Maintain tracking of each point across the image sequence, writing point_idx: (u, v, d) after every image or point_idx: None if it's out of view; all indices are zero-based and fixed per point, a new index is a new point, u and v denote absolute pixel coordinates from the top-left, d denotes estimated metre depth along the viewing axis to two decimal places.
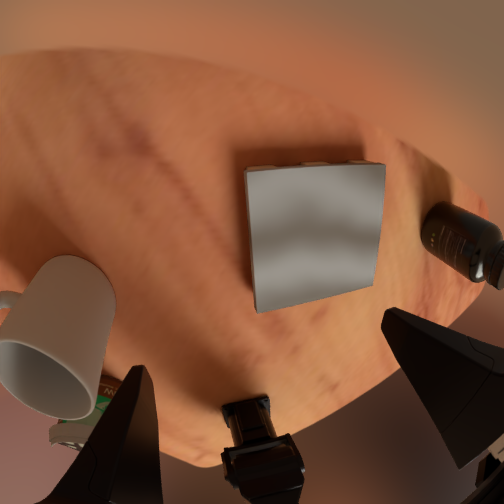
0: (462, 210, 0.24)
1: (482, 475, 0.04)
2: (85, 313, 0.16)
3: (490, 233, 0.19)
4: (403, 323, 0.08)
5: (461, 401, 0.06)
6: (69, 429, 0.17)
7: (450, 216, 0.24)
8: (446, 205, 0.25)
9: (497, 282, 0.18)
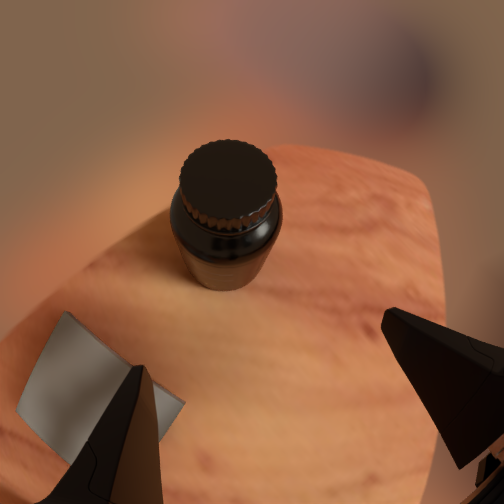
0: None
1: (482, 475, 0.04)
2: None
3: (174, 198, 0.15)
4: (403, 323, 0.08)
5: (461, 401, 0.06)
6: None
7: None
8: None
9: (223, 220, 0.12)
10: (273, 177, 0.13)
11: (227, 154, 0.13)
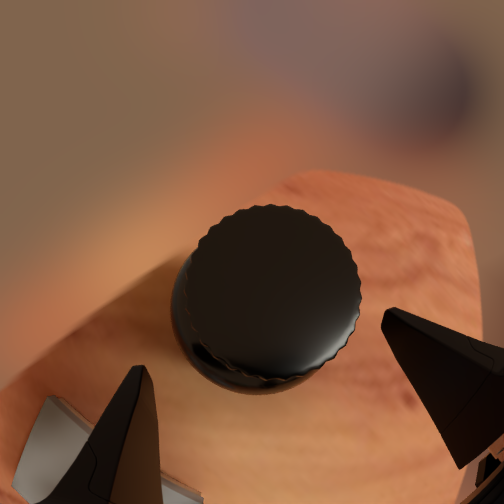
0: None
1: (482, 475, 0.04)
2: None
3: (176, 292, 0.10)
4: (403, 323, 0.08)
5: (461, 400, 0.06)
6: None
7: None
8: None
9: (274, 377, 0.06)
10: (355, 286, 0.07)
11: (273, 239, 0.07)
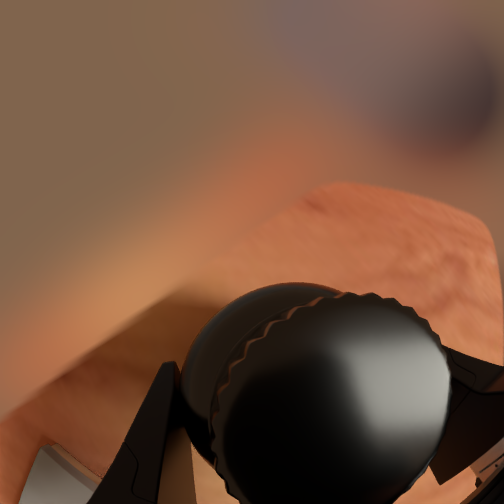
0: None
1: None
2: None
3: (187, 387, 0.06)
4: None
5: None
6: None
7: None
8: None
9: None
10: (447, 402, 0.04)
11: (354, 358, 0.04)
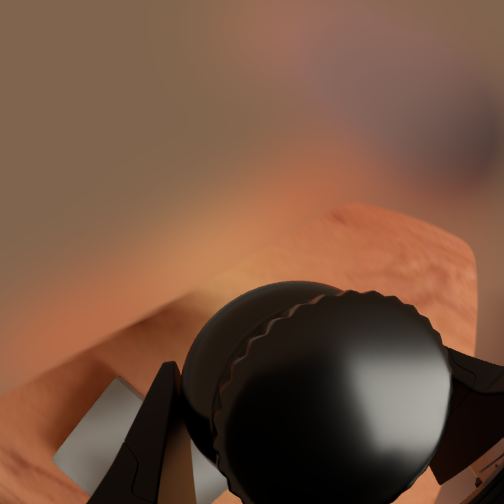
0: None
1: None
2: None
3: (189, 385, 0.06)
4: None
5: None
6: None
7: None
8: None
9: None
10: (448, 400, 0.04)
11: (356, 355, 0.04)
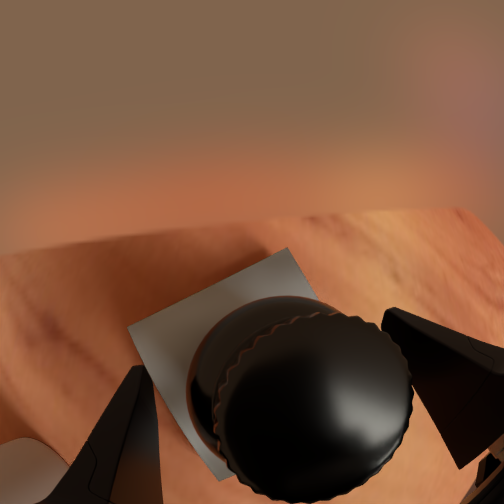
0: None
1: (482, 475, 0.04)
2: (21, 475, 0.08)
3: (193, 386, 0.07)
4: (403, 323, 0.08)
5: (461, 401, 0.06)
6: None
7: None
8: None
9: (316, 497, 0.04)
10: (408, 400, 0.05)
11: (324, 364, 0.05)
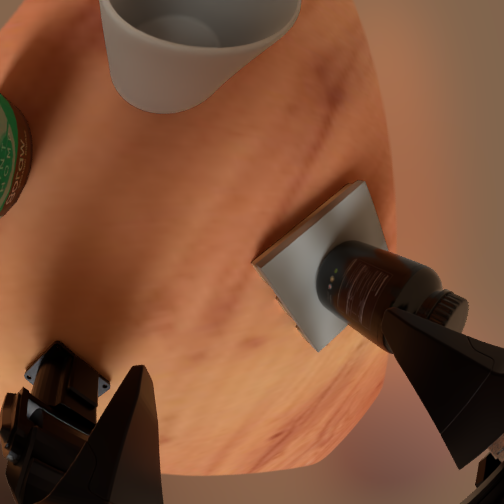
0: (387, 251, 0.20)
1: (482, 475, 0.04)
2: None
3: (430, 274, 0.15)
4: (403, 323, 0.08)
5: (460, 401, 0.06)
6: None
7: (368, 250, 0.20)
8: (365, 243, 0.22)
9: None
10: None
11: (460, 325, 0.14)
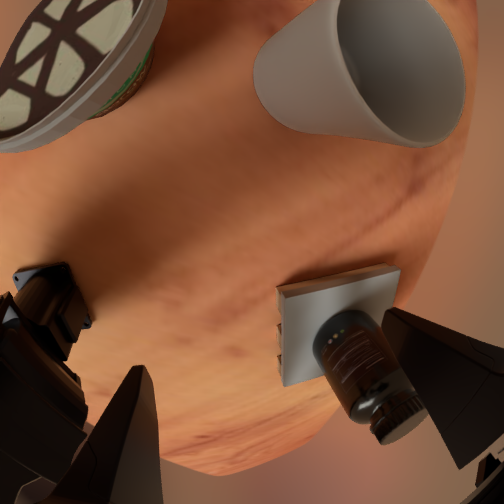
0: None
1: (482, 475, 0.04)
2: None
3: None
4: (403, 323, 0.08)
5: (461, 401, 0.06)
6: None
7: (375, 328, 0.21)
8: (374, 320, 0.23)
9: (390, 429, 0.14)
10: (389, 443, 0.15)
11: (416, 423, 0.15)
